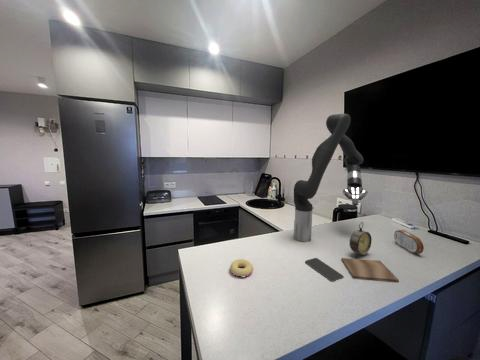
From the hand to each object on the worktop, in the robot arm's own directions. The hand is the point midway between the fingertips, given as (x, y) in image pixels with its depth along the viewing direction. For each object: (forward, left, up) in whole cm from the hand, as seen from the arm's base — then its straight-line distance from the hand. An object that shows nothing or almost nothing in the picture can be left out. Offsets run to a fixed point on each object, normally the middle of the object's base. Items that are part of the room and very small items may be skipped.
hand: (355, 205), depth 107 cm
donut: (-58, -39, -20) cm, 73 cm away
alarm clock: (-4, -18, -20) cm, 27 cm away
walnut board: (-6, -31, -19) cm, 37 cm away
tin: (+22, -9, -20) cm, 31 cm away
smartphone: (-24, -33, -20) cm, 45 cm away
